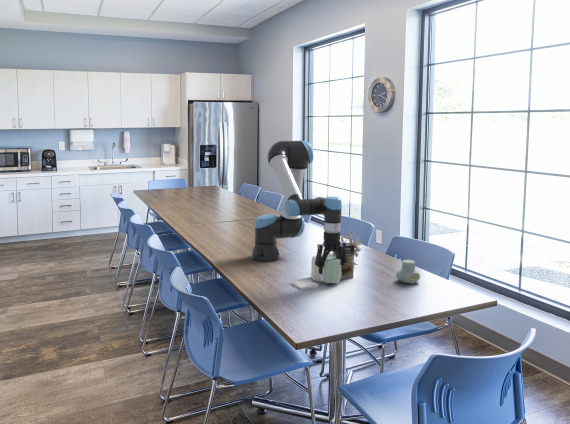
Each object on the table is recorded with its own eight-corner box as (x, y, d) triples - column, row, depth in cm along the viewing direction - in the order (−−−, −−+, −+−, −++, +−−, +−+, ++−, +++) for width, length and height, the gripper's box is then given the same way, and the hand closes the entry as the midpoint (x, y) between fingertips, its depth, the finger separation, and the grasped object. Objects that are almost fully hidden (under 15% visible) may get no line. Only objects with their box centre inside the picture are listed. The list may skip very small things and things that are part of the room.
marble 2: (329, 282, 241) (329, 276, 241) (334, 282, 242) (334, 275, 242) (332, 284, 238) (332, 278, 238) (338, 283, 240) (338, 277, 239)
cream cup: (308, 276, 250) (309, 256, 248) (323, 274, 254) (324, 254, 252) (317, 281, 243) (317, 260, 241) (332, 279, 246) (332, 259, 244)
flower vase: (336, 285, 260) (364, 263, 276) (337, 254, 251) (366, 233, 267) (316, 275, 267) (344, 254, 284) (316, 245, 258) (345, 225, 275)
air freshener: (405, 286, 238) (406, 264, 236) (392, 281, 245) (393, 260, 243) (422, 282, 244) (423, 261, 242) (409, 277, 251) (411, 257, 249)
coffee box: (336, 279, 247) (337, 246, 244) (331, 275, 253) (332, 243, 250) (353, 277, 249) (355, 245, 246) (348, 274, 255) (349, 242, 252)
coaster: (291, 283, 239) (291, 281, 239) (309, 281, 243) (309, 279, 243) (300, 289, 231) (300, 287, 231) (318, 287, 235) (318, 285, 235)
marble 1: (323, 283, 240) (323, 277, 239) (328, 282, 241) (328, 276, 240) (326, 285, 237) (326, 279, 237) (332, 284, 238) (332, 278, 238)
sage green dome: (318, 278, 242) (318, 257, 240) (333, 276, 245) (334, 255, 243) (327, 283, 234) (327, 262, 232) (342, 281, 238) (343, 260, 236)
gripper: (315, 234, 228) (314, 284, 232) (356, 231, 237) (354, 279, 241) (307, 231, 234) (306, 279, 239) (347, 227, 243) (345, 274, 247)
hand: (330, 279), depth 240 cm, fingers closed on sage green dome, 8 cm apart
